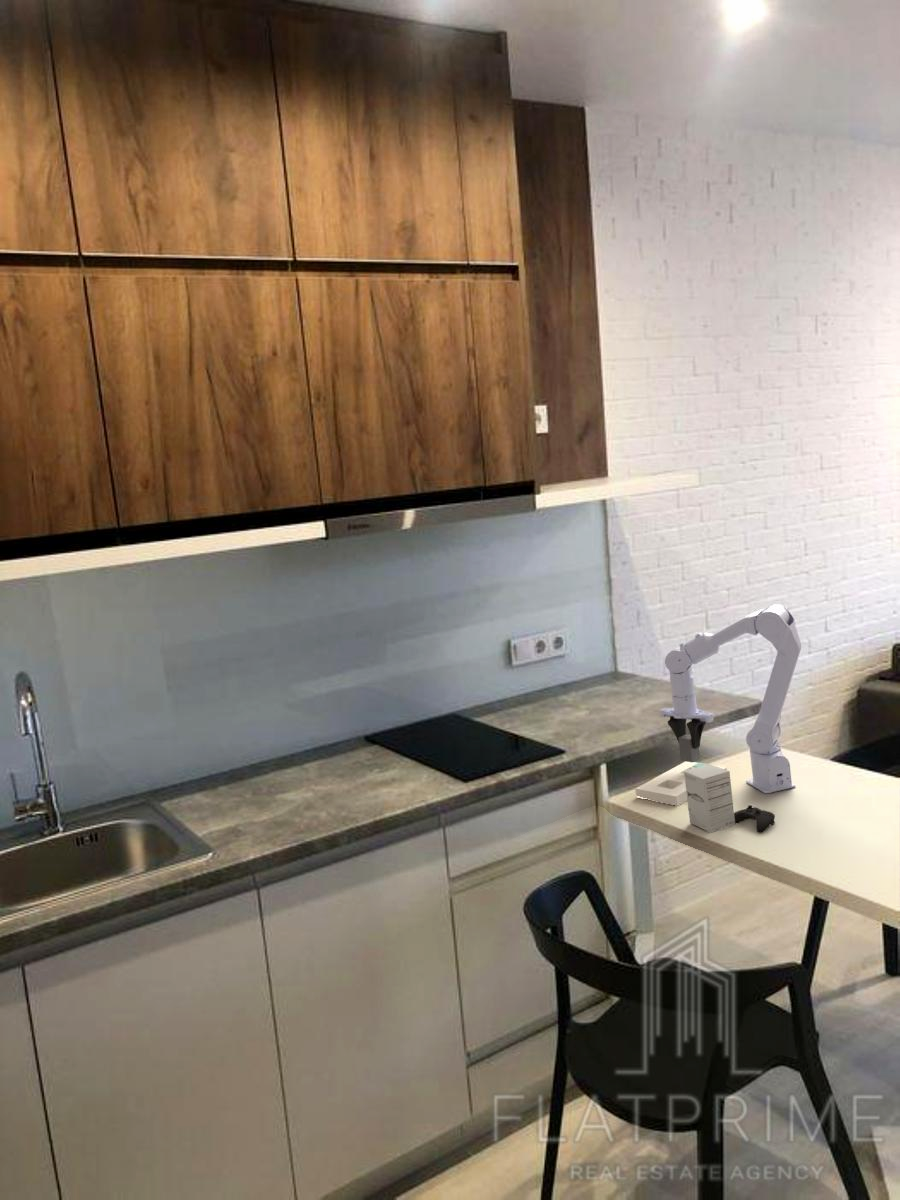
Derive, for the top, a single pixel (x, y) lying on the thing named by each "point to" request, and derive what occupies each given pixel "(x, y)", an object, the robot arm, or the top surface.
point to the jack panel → (669, 785)
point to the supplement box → (709, 797)
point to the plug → (688, 749)
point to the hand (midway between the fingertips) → (689, 746)
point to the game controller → (755, 817)
